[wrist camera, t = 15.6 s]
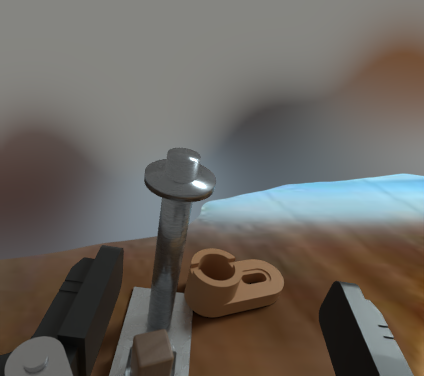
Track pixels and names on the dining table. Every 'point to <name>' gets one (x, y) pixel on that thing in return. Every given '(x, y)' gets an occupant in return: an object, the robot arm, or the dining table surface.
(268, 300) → the bracket
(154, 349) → the wooden block
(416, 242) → the dining table surface
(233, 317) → the dining table surface
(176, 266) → the metal post stand
